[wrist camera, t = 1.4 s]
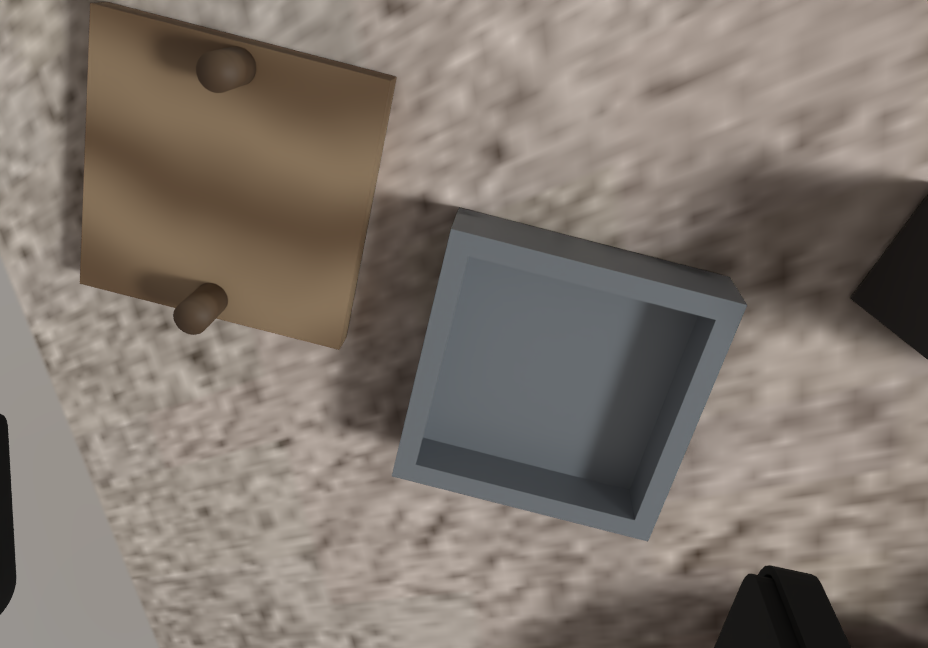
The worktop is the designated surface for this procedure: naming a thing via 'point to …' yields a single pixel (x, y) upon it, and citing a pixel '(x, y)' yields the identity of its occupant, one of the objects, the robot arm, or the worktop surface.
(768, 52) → the worktop surface
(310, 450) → the worktop surface
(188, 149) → the peg stand
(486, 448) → the tray
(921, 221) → the phone stand
